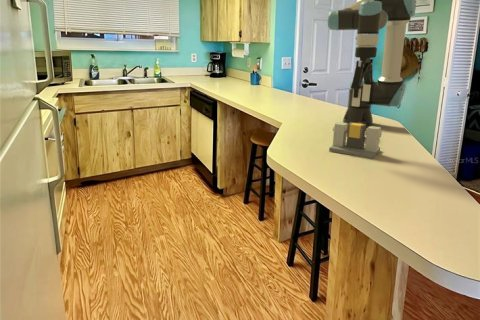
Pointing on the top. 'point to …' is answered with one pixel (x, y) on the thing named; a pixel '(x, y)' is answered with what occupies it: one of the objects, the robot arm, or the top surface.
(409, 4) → the robot arm
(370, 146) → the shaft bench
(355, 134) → the box
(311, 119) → the top surface
